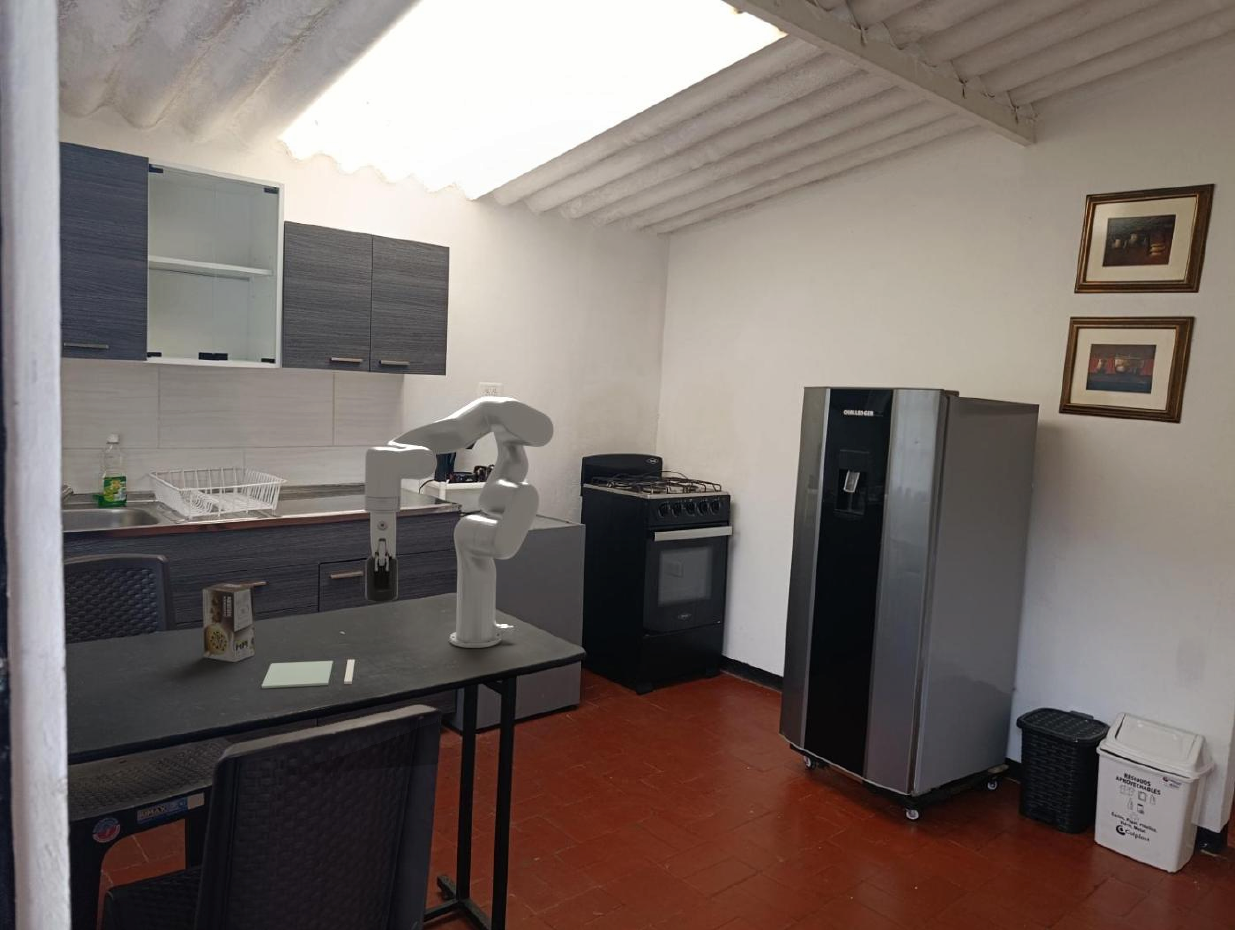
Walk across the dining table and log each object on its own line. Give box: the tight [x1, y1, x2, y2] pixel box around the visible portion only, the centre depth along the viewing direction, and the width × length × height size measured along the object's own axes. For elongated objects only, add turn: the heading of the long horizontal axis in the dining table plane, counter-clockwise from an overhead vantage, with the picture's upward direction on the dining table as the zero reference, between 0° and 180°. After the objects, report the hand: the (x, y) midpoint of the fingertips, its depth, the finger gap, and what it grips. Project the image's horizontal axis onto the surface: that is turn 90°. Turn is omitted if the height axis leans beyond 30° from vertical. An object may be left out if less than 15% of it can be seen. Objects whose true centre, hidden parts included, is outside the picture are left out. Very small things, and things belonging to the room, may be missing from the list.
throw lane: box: [261, 659, 356, 689], centre depth 184 cm, size 18×14×1 cm
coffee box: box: [202, 582, 255, 663], centre depth 192 cm, size 9×6×16 cm
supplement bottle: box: [364, 543, 399, 603], centre depth 185 cm, size 7×7×12 cm
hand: (381, 584), depth 185 cm, fingers closed on supplement bottle, 6 cm apart
